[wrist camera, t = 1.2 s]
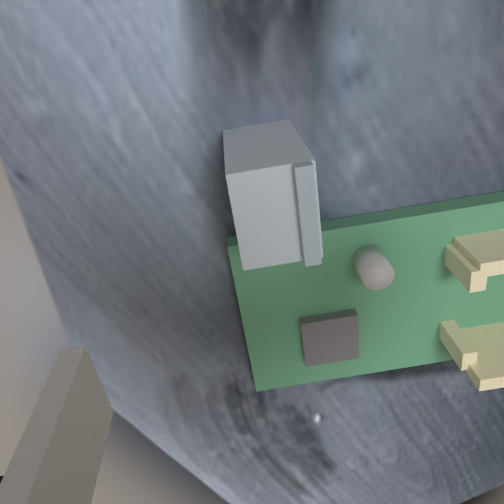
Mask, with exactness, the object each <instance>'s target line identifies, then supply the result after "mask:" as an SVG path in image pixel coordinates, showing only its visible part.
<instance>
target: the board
mask: <svg viewBox="0 0 504 504" xmlns="http://www.w3.org/2000/svg"><path fill="white" fill-rule="evenodd" d="M320 223H321V235H322V247H323V257H322V258H321V260H322V264H320V265H314V266H307V267H305V264H304V261H298V262H292V263H286V264H280V265H274V266H268V267H262V268H256V269H250V270H244V271H243V267H242V261H241V256H240V251H239V245H238V240H237V235H234V236H228V237H227V249H228V254H229V259H230V264H231V269H232V274H233V278H234V283H235V288H236V293H237V298H238V303H239V308H240V313H241V318H242V323H243V328H244V333H245V338H246V343H247V348H248V353H249V358H250V363H251V368H252V373H253V378H254V383H255V388H256V392H257V391H263V390H270V389H276V388H282V387H288V386H294V385H300V384H307V383H313V382H319V381H325V380H331V379H337V378H343V377H350V376H356V375H362V374H368V373H374V372H380V371H387V370H393V369H399V368H405V367H411V366H417V365H424V364H430V363H436V362H442V361H448V360H454V361H455V362H456V364H457V365H458V367H459V368H460V370H461V371H463V370H465V371H466V373H467V374H468V376H469V377H470V379H471V380H472V382H473V383H474V385H475V386H476V388H477V389H478V391H484V390H490V389H496V388H503V387H504V191H499V192H493V193H487V194H481V195H475V196H469V197H463V198H457V199H451V200H445V201H439V202H433V203H427V204H421V205H415V206H409V207H403V208H397V209H391V210H384V211H378V212H372V213H366V214H360V215H354V216H348V217H342V218H336V219H330V220H324V221H320Z"/></svg>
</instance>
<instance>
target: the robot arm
mask: <svg viewBox="0 0 504 504" xmlns="http://www.w3.org/2000/svg"><path fill="white" fill-rule="evenodd" d="M113 413H114V412H113V410H112V408H111V405H110V403H109V400H108V398H107V396H106V393H105V391H104V389H103V386H102V384H101V382H100V379H99V377H98V375H97V372H96V370H95V368H94V365H93V363H92V360H91V358H90V356H89V353H88V351H87V349H86V347H83V348H77V349H71V350H65V351H60V353H59V355H58V357H57V360H56V361H55V364H54V366H53V368H52V370H51V373H50V375H49V377H48V379H47V382H46V384H45V386H44V388H43V390H42V392H41V395H40V397H39V399H38V401H37V404H36V406H35V408H34V410H33V413H32V414H31V417H30V419H29V421H28V424H27V426H26V428H25V430H24V432H23V434H22V437H21V439H20V441H19V443H18V446H17V448H16V450H15V452H14V454H13V457H12V459H11V461H10V463H9V465H8V468H7V470H6V472H5V475H4V476H0V504H91V500H92V496H93V492H94V488H95V484H96V480H97V476H98V472H99V468H100V464H101V461H102V457H103V453H104V448H105V445H106V441H107V436H108V432H109V429H110V425H111V420H112V417H113Z"/></svg>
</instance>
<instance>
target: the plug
mask: <svg viewBox="0 0 504 504" xmlns="http://www.w3.org/2000/svg"><path fill="white" fill-rule="evenodd" d="M223 144H224V161H225V176H226V181H227V186H228V192H229V197H230V203H231V208H232V213H233V219H234V224H235V229H236V235H237V240H238V245H239V251H240V256H241V261H242V267H243V271H244V270H250V269H256V268H262V267H268V266H274V265H280V264H286V263H292V262H298V261H304V264H305V267H307V266H314V265H320V264H322V260H321V258H322V257H323V247H322V235H321V223H320V211H319V199H318V187H317V175H316V163H315V159H314V157H313V155H312V154H311V152H310V151H309V149H308V148H307V146H306V145H305V143H304V141H303V140H302V138H301V137H300V135H299V134H298V132H297V130H296V129H295V127H294V126H293V124H292V123H291V121H290V120H289V119H286V120H280V121H274V122H268V123H262V124H256V125H251V126H245V127H239V128H233V129H227V130H223Z"/></svg>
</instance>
